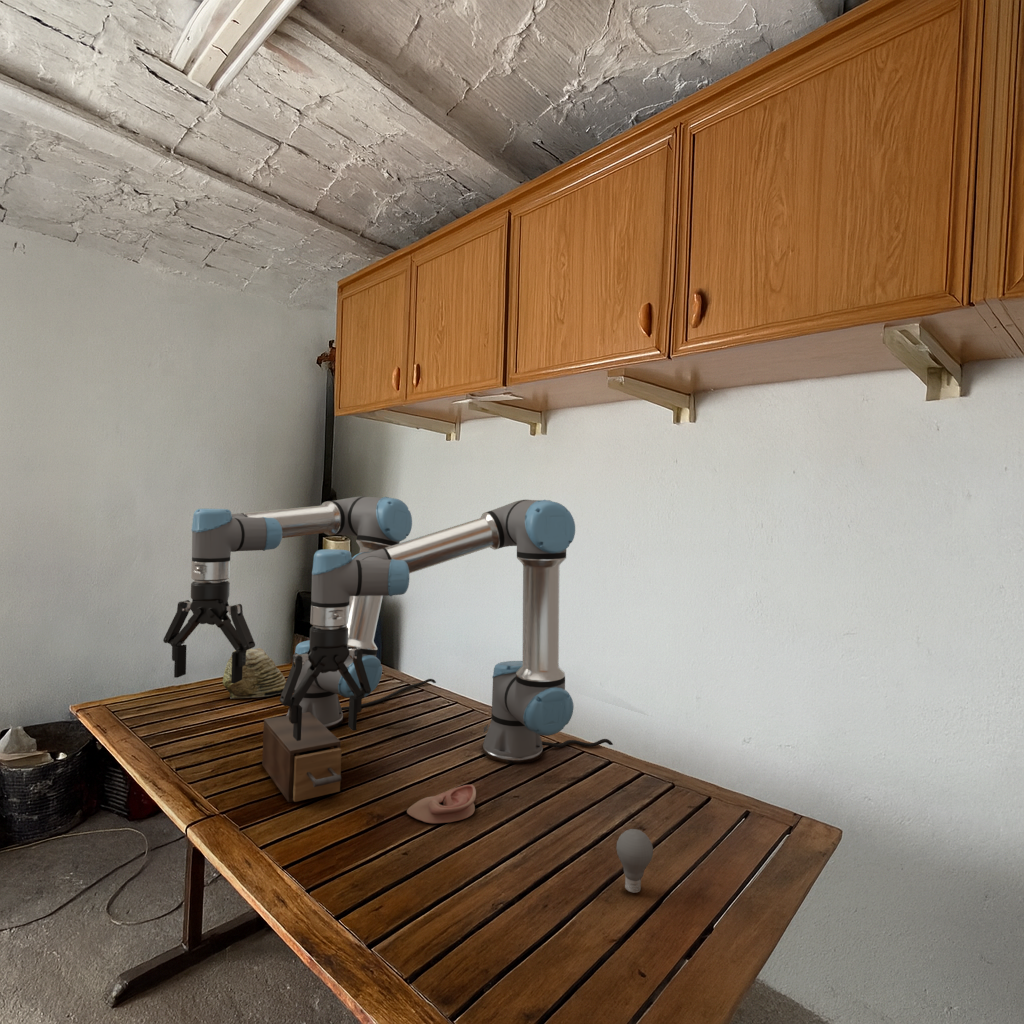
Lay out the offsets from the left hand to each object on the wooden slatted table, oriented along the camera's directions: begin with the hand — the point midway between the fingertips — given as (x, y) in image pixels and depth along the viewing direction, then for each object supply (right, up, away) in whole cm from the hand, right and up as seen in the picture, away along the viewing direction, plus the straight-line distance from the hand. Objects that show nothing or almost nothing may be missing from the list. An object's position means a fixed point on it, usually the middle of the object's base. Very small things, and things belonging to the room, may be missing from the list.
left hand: (208, 678), depth 136 cm
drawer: (+21, -23, +1) cm, 31 cm away
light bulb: (+86, -27, -31) cm, 95 cm away
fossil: (-15, -21, +62) cm, 67 cm away
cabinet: (+18, -24, +6) cm, 30 cm away
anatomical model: (+51, -26, -7) cm, 57 cm away
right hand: (+27, -9, -7) cm, 30 cm away
